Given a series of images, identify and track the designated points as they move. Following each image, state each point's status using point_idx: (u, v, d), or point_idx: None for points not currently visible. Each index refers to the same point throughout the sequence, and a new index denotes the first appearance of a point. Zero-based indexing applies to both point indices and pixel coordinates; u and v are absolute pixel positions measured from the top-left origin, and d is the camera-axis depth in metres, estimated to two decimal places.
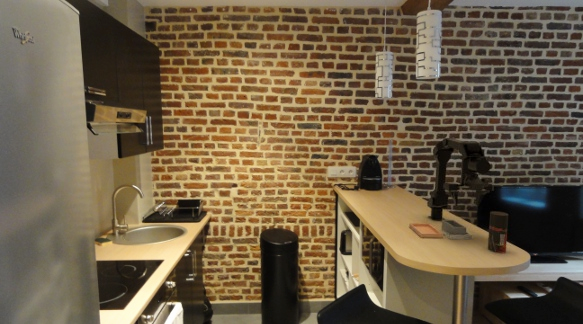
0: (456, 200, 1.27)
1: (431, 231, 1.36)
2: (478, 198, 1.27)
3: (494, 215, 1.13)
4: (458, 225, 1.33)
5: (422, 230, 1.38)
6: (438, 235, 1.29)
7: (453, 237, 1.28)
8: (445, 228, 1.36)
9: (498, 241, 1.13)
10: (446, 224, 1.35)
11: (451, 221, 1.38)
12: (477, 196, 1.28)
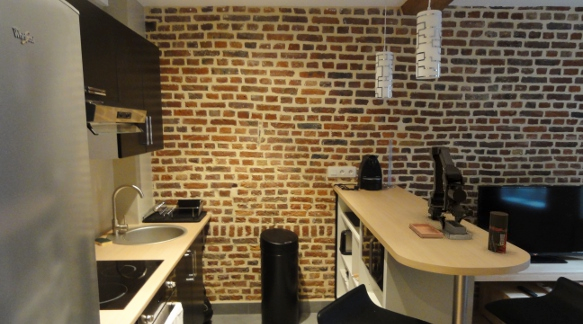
0: (443, 224, 1.36)
1: (431, 231, 1.36)
2: None
3: (494, 215, 1.13)
4: (458, 225, 1.33)
5: (422, 230, 1.38)
6: (438, 235, 1.29)
7: (453, 237, 1.28)
8: (445, 228, 1.36)
9: (498, 241, 1.13)
10: (446, 224, 1.35)
11: (451, 221, 1.38)
12: (455, 220, 1.38)
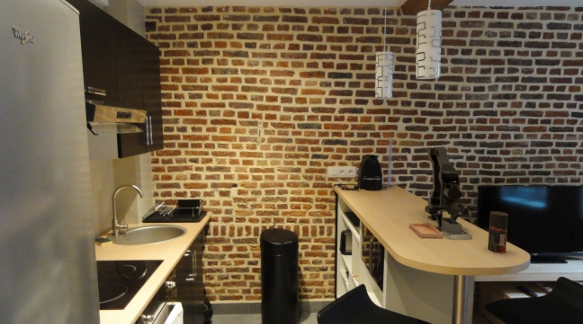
0: (439, 222, 1.40)
1: (431, 231, 1.36)
2: None
3: (494, 215, 1.13)
4: (454, 222, 1.37)
5: (422, 230, 1.38)
6: (438, 235, 1.29)
7: (453, 237, 1.28)
8: (441, 225, 1.40)
9: (498, 241, 1.13)
10: (442, 222, 1.39)
11: (448, 219, 1.42)
12: (451, 218, 1.41)
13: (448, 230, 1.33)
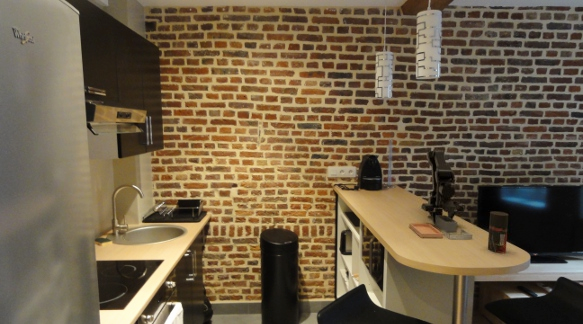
0: (434, 219, 1.44)
1: (431, 231, 1.36)
2: None
3: (494, 215, 1.13)
4: (450, 220, 1.41)
5: (422, 230, 1.38)
6: (438, 235, 1.29)
7: (453, 237, 1.28)
8: (437, 223, 1.44)
9: (498, 241, 1.13)
10: (438, 219, 1.43)
11: (443, 217, 1.46)
12: (449, 216, 1.45)
13: (444, 227, 1.37)
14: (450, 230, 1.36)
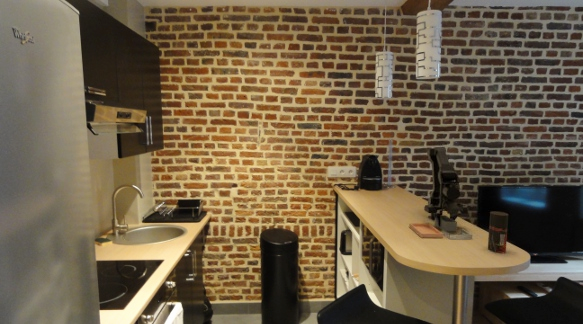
0: (439, 221, 1.41)
1: (431, 231, 1.36)
2: None
3: (494, 215, 1.13)
4: (450, 220, 1.41)
5: (422, 230, 1.38)
6: (438, 235, 1.29)
7: (453, 237, 1.28)
8: None
9: (498, 241, 1.13)
10: None
11: (443, 217, 1.46)
12: (451, 218, 1.42)
13: (444, 227, 1.37)
14: (450, 230, 1.36)
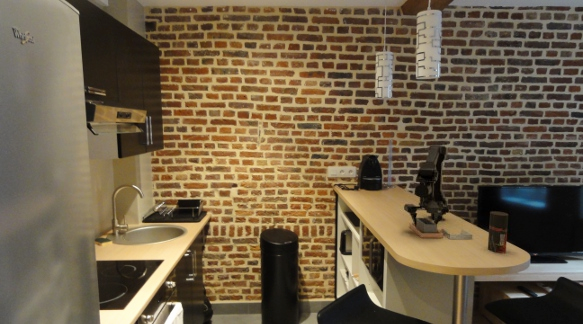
0: (415, 221, 1.35)
1: None
2: (436, 219, 1.35)
3: (494, 215, 1.13)
4: (430, 223, 1.36)
5: None
6: (438, 235, 1.29)
7: (453, 237, 1.28)
8: (418, 226, 1.38)
9: (498, 241, 1.13)
10: (418, 222, 1.37)
11: (424, 219, 1.41)
12: (435, 217, 1.36)
13: (423, 230, 1.32)
14: None
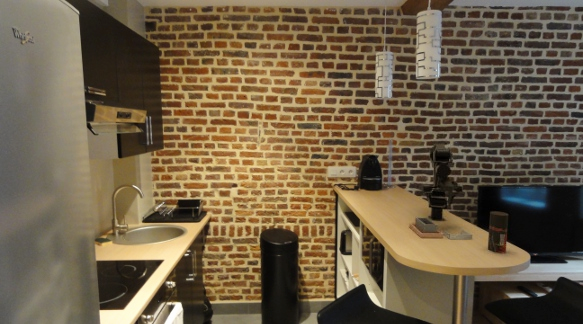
0: (430, 200, 1.42)
1: None
2: (450, 199, 1.42)
3: (494, 215, 1.13)
4: (430, 223, 1.36)
5: None
6: (438, 235, 1.29)
7: (453, 237, 1.28)
8: (418, 226, 1.38)
9: (498, 241, 1.13)
10: (418, 222, 1.37)
11: (424, 219, 1.41)
12: (449, 197, 1.43)
13: (423, 230, 1.32)
14: None
